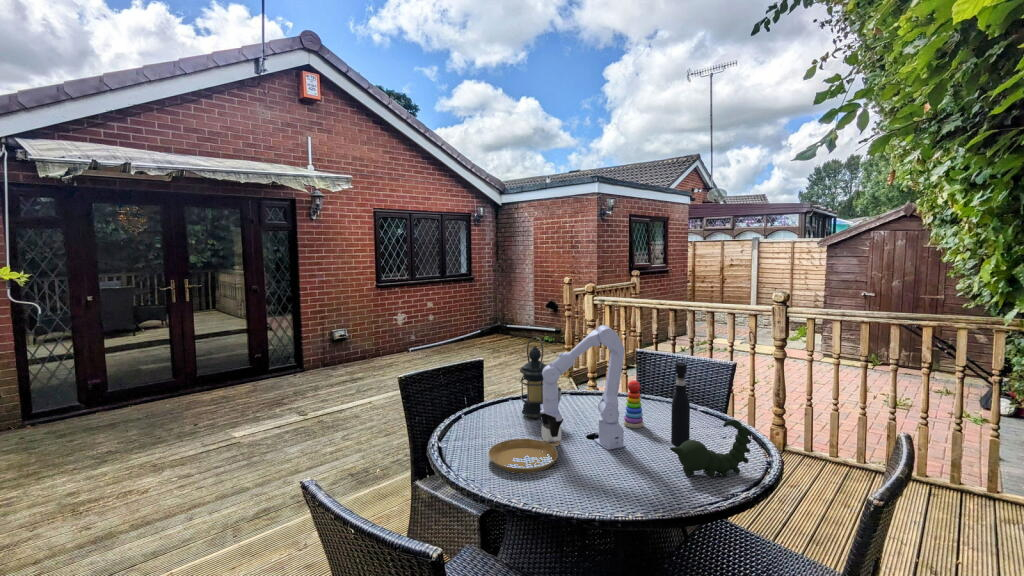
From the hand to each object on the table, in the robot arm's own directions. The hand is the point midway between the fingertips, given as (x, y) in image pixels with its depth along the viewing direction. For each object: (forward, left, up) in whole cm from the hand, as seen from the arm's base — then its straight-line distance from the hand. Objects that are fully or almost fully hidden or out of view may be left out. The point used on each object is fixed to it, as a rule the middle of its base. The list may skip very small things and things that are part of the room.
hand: (551, 433), depth 177 cm
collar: (0, 0, -2) cm, 2 cm away
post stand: (0, 0, -4) cm, 4 cm away
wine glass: (+18, -9, -4) cm, 20 cm away
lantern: (+30, -7, -4) cm, 31 cm away
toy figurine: (-42, -36, -4) cm, 55 cm away
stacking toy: (+3, -39, -4) cm, 39 cm away
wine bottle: (-19, -44, -4) cm, 48 cm away
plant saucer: (-9, +15, -4) cm, 18 cm away
